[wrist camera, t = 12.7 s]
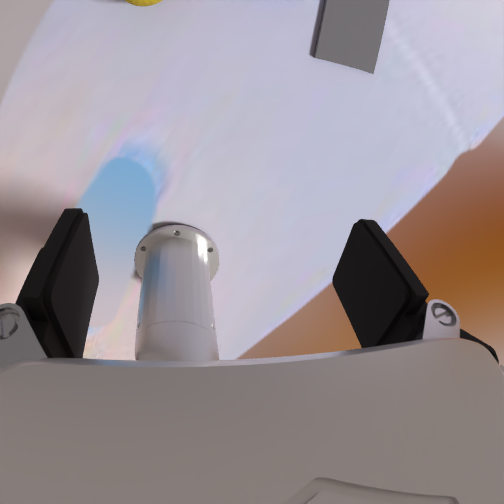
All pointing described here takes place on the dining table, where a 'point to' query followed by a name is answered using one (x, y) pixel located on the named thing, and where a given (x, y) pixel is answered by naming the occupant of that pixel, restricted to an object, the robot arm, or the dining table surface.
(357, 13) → the grey rectangular plate
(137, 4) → the lemon
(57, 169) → the dining table surface
